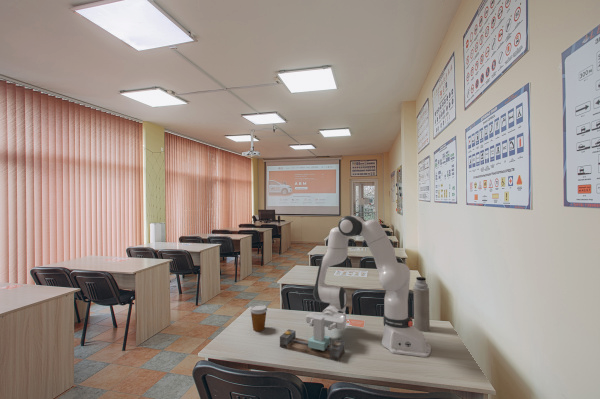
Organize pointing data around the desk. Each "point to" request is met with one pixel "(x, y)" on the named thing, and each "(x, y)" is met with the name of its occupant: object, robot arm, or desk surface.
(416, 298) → the thermos bottle
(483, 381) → the desk surface
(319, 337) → the block
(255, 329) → the disposable coffee cup
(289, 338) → the rail
